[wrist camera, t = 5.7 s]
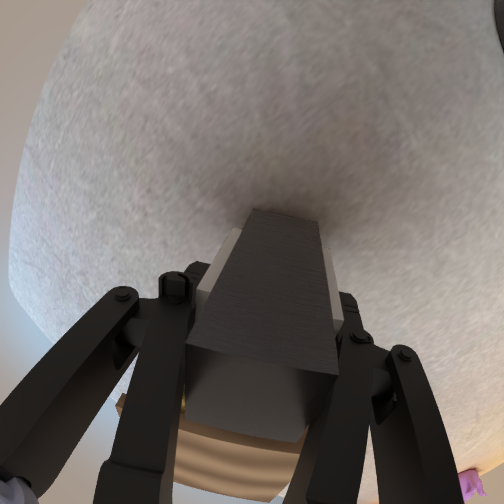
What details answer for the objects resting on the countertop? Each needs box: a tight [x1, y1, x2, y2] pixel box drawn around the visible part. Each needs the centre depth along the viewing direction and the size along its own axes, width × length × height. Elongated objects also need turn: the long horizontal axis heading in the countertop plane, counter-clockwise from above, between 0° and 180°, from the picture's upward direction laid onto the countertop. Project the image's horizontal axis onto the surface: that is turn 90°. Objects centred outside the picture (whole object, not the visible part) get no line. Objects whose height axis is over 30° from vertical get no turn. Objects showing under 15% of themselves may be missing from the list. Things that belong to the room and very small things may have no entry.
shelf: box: [115, 393, 309, 503], centre depth 26 cm, size 17×16×8 cm
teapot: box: [458, 470, 487, 504], centre depth 33 cm, size 12×14×9 cm
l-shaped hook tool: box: [185, 209, 339, 443], centre depth 17 cm, size 22×4×12 cm, turn 171°
